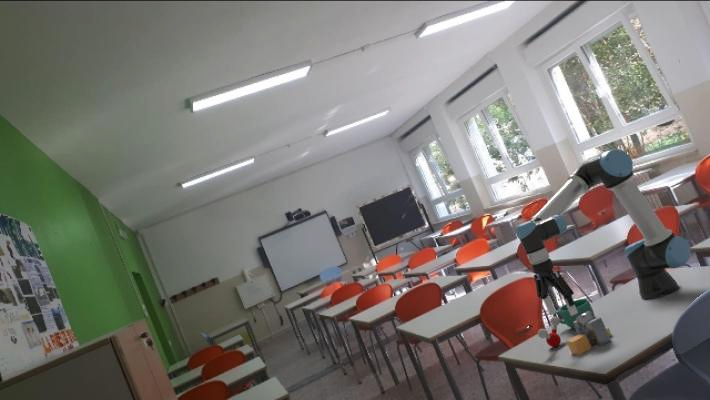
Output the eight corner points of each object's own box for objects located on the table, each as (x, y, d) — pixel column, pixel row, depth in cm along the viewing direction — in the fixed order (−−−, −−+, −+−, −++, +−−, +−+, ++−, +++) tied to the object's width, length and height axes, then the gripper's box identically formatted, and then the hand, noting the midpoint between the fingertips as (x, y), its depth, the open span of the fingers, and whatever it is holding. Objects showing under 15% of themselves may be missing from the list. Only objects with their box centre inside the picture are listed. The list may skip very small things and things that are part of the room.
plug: (605, 334, 219) (599, 322, 220) (613, 335, 215) (607, 322, 215) (571, 353, 215) (566, 341, 215) (579, 354, 210) (573, 341, 211)
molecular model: (555, 353, 222) (544, 329, 223) (542, 356, 226) (531, 332, 226) (569, 336, 236) (559, 313, 236) (557, 339, 239) (547, 316, 240)
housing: (592, 338, 221) (579, 310, 222) (611, 340, 211) (597, 311, 212) (582, 344, 220) (569, 316, 221) (600, 346, 209) (587, 316, 210)
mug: (601, 316, 244) (592, 296, 244) (591, 328, 234) (582, 306, 235) (566, 324, 255) (557, 304, 256) (555, 335, 246) (546, 314, 246)
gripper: (515, 267, 227) (537, 317, 225) (551, 262, 203) (575, 318, 201) (530, 260, 229) (552, 309, 227) (567, 254, 205) (592, 310, 203)
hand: (563, 314), depth 214 cm, fingers open, 13 cm apart
